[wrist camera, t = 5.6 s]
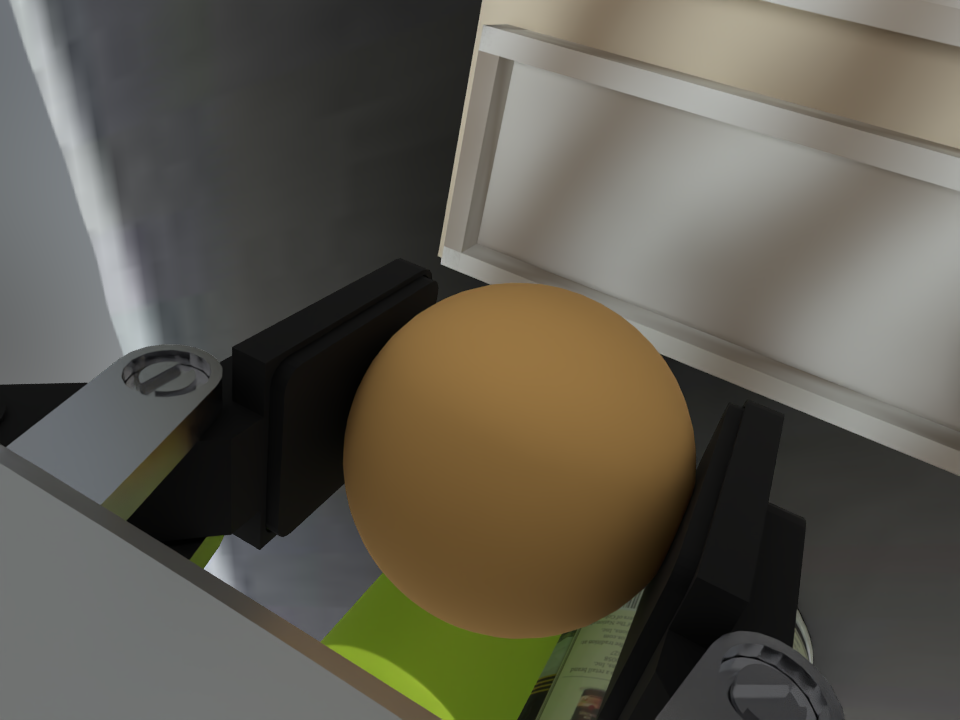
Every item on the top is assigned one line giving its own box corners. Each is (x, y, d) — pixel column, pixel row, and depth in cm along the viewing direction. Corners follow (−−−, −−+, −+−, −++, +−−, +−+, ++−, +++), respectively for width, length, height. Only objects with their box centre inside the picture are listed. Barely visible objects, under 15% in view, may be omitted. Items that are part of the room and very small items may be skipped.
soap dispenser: (462, 429, 31) (12, 868, 15) (601, 406, 27) (193, 971, 11) (509, 539, 32) (144, 1050, 16) (648, 532, 28) (347, 1199, 12)
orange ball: (776, 309, 10) (720, 509, 6) (663, 545, 13) (570, 792, 9) (477, 200, 11) (269, 300, 7) (430, 431, 14) (260, 597, 10)
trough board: (2113, -391, 10) (2464, -505, 8) (1161, 532, 20) (1196, 595, 18) (578, -452, 17) (537, -519, 15) (450, 249, 27) (414, 269, 25)
